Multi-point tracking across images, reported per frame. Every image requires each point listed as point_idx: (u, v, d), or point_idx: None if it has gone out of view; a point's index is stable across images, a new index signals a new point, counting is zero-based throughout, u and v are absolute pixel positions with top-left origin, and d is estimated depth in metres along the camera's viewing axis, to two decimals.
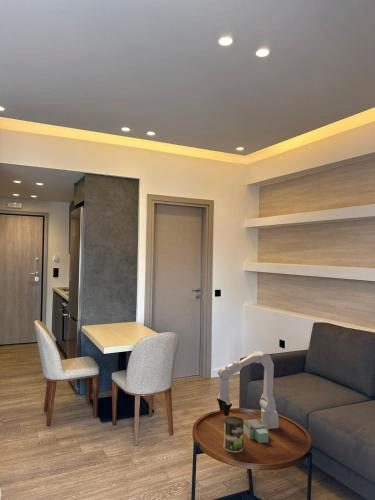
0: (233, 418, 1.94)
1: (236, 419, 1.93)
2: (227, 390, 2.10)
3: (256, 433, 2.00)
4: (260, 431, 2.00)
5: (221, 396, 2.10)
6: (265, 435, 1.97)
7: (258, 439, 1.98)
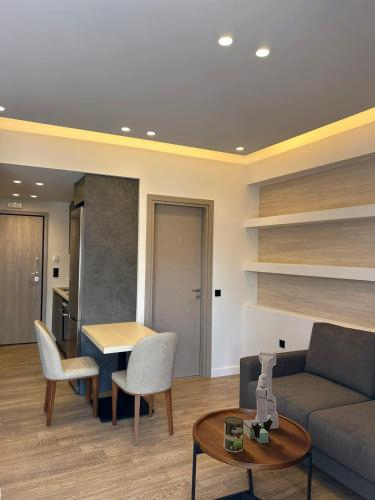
0: (233, 418, 1.94)
1: (236, 419, 1.93)
2: (260, 411, 1.98)
3: None
4: (260, 431, 2.00)
5: None
6: (265, 435, 1.97)
7: (258, 439, 1.98)
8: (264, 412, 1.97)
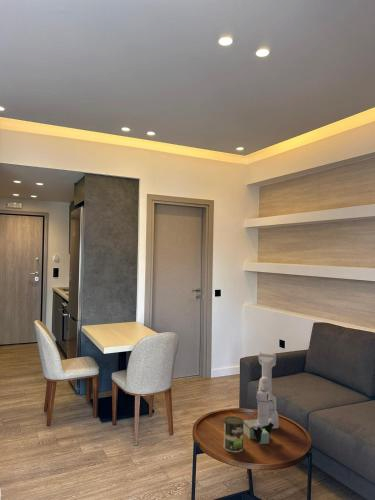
0: (233, 418, 1.94)
1: (236, 419, 1.93)
2: (261, 415, 1.96)
3: None
4: None
5: None
6: (266, 436, 1.96)
7: None
8: (265, 416, 1.96)
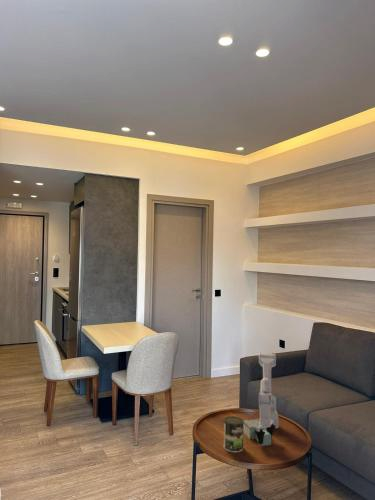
0: (233, 418, 1.94)
1: (236, 419, 1.93)
2: (264, 417, 1.94)
3: None
4: None
5: (259, 421, 1.97)
6: (267, 438, 1.94)
7: None
8: (268, 417, 1.94)
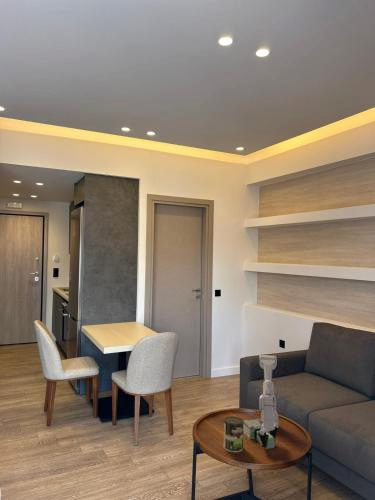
0: (233, 418, 1.94)
1: (236, 419, 1.93)
2: (267, 419, 1.91)
3: None
4: None
5: (263, 424, 1.93)
6: (270, 441, 1.91)
7: None
8: (271, 420, 1.91)
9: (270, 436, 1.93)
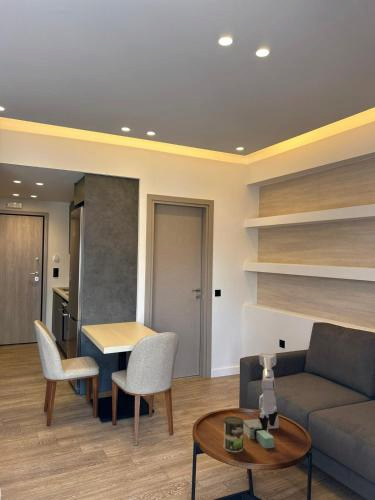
0: (233, 418, 1.94)
1: (236, 419, 1.93)
2: (267, 403, 1.91)
3: (261, 438, 1.94)
4: (265, 435, 1.94)
5: (263, 407, 1.94)
6: (270, 440, 1.91)
7: (263, 444, 1.92)
8: (271, 403, 1.91)
9: (270, 436, 1.94)
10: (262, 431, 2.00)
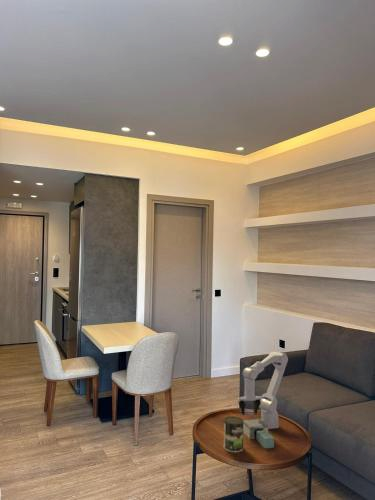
0: (233, 418, 1.94)
1: (236, 419, 1.93)
2: (246, 390, 2.10)
3: (261, 438, 1.94)
4: (265, 435, 1.94)
5: None
6: (270, 440, 1.91)
7: (263, 444, 1.92)
8: (249, 391, 2.08)
9: (270, 436, 1.94)
10: (262, 431, 2.00)
